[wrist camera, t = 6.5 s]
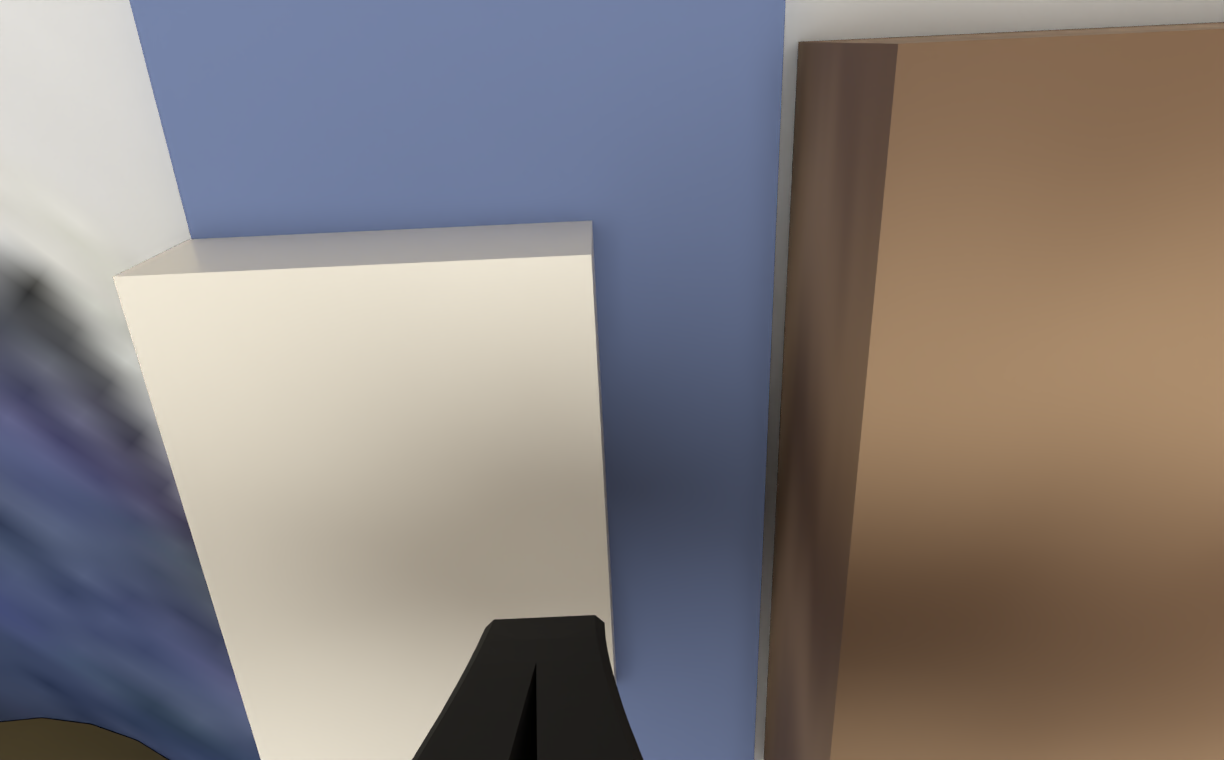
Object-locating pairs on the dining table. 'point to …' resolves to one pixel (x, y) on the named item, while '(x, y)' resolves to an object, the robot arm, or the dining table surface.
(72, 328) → the dining table surface
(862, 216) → the brown wooden slab
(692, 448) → the mat
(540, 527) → the block
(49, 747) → the cork
